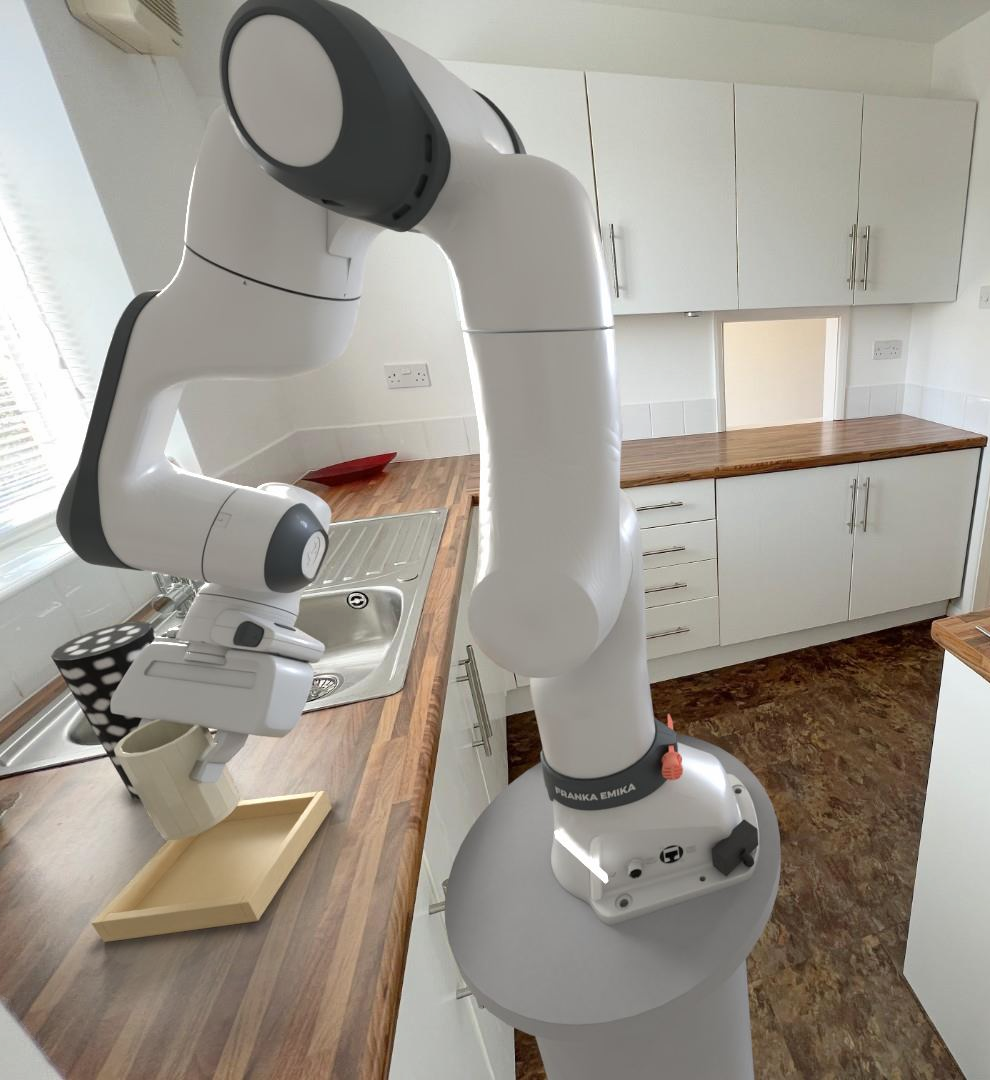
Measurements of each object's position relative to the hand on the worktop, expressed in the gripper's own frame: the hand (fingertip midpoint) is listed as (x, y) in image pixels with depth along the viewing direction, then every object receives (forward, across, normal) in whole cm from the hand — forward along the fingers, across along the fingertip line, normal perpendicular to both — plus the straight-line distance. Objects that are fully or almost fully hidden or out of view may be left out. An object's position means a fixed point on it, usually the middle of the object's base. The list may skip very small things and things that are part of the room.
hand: (173, 776), depth 55 cm
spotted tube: (+2, -21, +16) cm, 27 cm away
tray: (+9, 0, +10) cm, 13 cm away
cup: (+3, 0, +4) cm, 5 cm away
